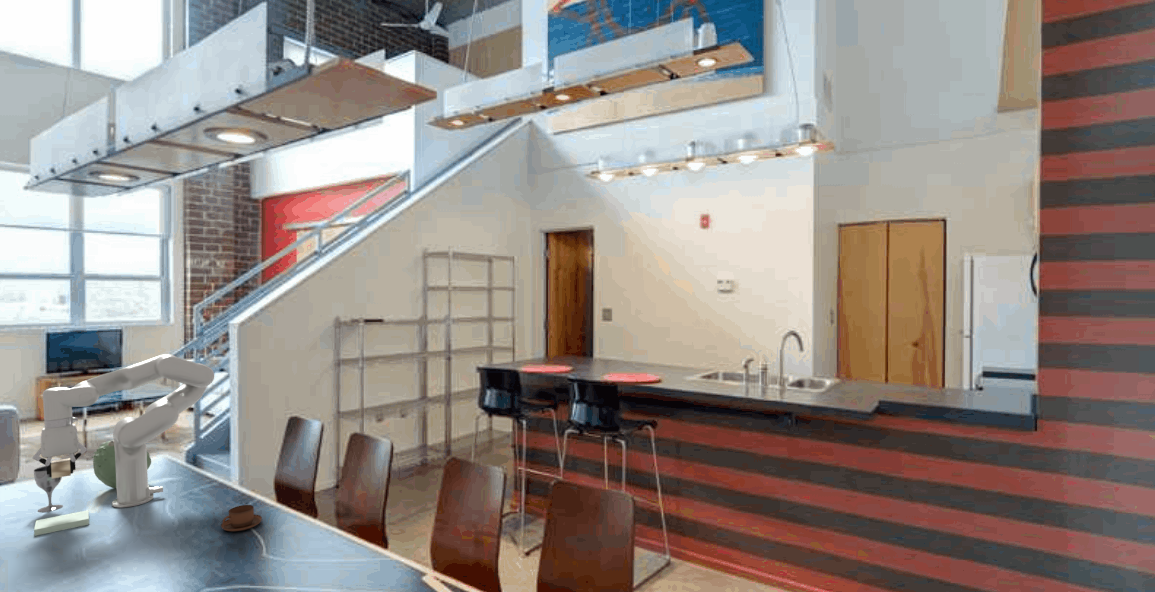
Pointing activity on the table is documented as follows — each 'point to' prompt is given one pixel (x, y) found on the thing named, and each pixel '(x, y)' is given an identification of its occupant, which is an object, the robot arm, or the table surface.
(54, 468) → the birch cube
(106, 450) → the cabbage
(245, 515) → the cup and saucer
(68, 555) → the table surface
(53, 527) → the sage board
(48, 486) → the wine glass
